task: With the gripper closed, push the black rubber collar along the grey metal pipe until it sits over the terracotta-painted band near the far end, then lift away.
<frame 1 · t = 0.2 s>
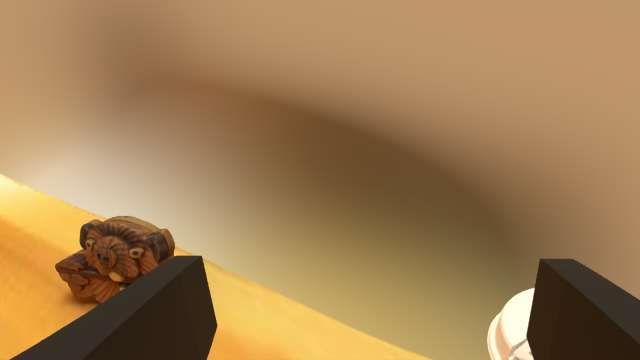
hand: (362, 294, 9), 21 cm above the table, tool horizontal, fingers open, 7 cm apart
wooden carving: (134, 308, 42), on the table
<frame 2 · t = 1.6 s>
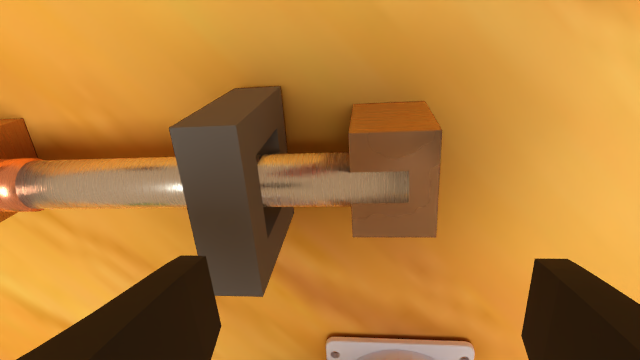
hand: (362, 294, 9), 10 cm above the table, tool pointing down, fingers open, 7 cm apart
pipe: (187, 153, 19), on the table
collar: (247, 181, 15), point 3 cm above the table, slide at 0.0 cm
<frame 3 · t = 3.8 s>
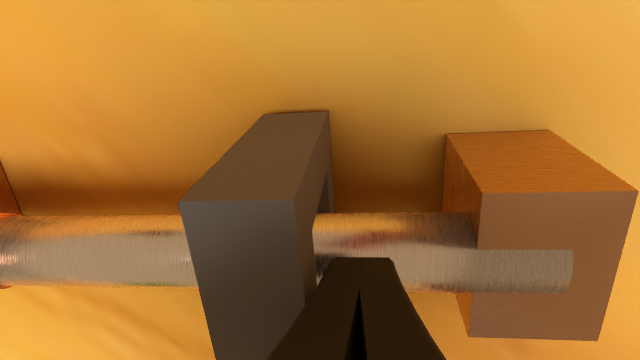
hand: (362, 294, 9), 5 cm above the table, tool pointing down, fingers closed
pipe: (212, 195, 14), on the table
collar: (287, 251, 10), point 3 cm above the table, slide at 0.6 cm, touching gripper
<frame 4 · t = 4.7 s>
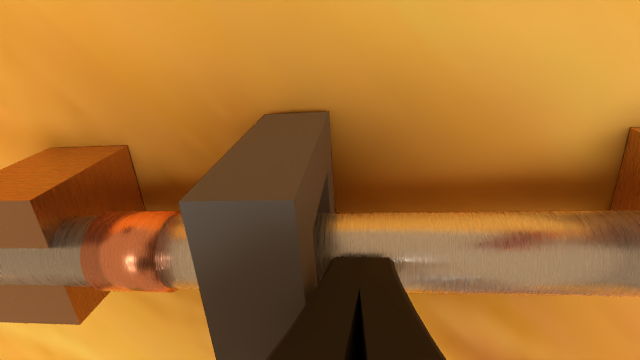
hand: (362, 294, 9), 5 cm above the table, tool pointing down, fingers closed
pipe: (359, 193, 13), on the table
collar: (287, 251, 10), point 4 cm above the table, slide at 5.8 cm, touching gripper
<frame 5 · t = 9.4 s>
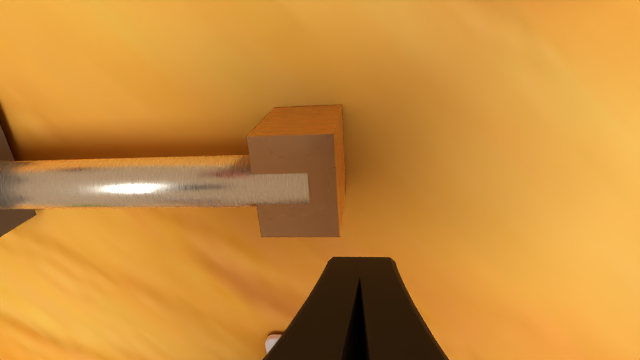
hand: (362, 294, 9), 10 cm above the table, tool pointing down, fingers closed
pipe: (119, 154, 19), on the table
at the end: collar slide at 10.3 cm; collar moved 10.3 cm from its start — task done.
